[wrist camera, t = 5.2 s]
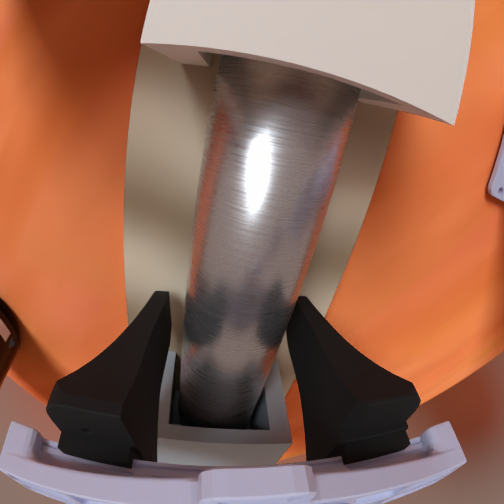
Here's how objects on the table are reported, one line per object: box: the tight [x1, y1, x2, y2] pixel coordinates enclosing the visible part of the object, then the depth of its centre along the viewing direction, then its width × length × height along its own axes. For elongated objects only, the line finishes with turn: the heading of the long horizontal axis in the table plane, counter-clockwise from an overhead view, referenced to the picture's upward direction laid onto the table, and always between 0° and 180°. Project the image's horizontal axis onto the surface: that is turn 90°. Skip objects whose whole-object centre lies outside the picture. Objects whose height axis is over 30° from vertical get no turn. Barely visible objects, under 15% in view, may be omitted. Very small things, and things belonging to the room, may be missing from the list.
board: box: [124, 44, 398, 398], centre depth 13 cm, size 27×10×1 cm, turn 169°
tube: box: [178, 54, 361, 430], centre depth 11 cm, size 19×4×4 cm, turn 169°
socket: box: [157, 351, 292, 466], centre depth 15 cm, size 5×7×5 cm
